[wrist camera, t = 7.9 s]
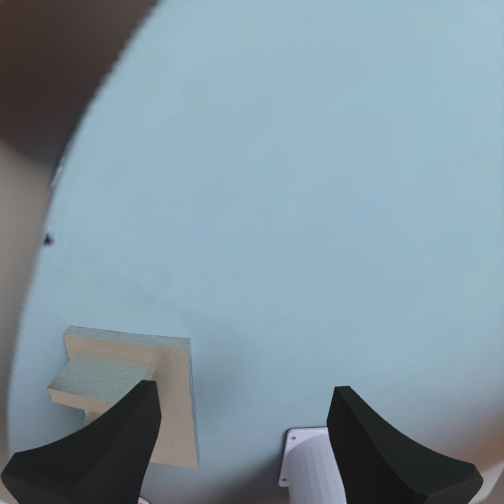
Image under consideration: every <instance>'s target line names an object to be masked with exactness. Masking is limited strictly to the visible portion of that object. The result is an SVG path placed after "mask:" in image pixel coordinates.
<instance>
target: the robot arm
mask: <svg viewBox="0 0 504 504" xmlns="http://www.w3.org/2000/svg"><path fill="white" fill-rule="evenodd" d="M161 419H162V414H161V408H160V402H159V396H158V390H157V383H156V381H150V380H141V381H140V382H139V383H138V384H137V385H136V386H134V387H133V388H132V389H131V390H130V391H129V392H128V393H127V394H126V395H125V396H124V397H123V398H122V399H120V400H119V401H118V402H117V403H116V404H115V405H114V406H112V407H111V408H110V409H109V410H108V411H106V412H105V413H104V414H102V415H101V416H100V417H99V418H97V419H96V420H94V421H93V422H92V423H90V424H89V425H87V426H85V427H84V428H82V429H80V430H79V431H77V432H75V433H73V434H71V435H69V436H67V437H65V438H62V439H60V440H58V441H56V442H53V443H50V444H48V445H45V446H42V447H38V448H35V449H31V450H27V451H22V452H17V453H15V454H14V455H13V456H12V458H11V459H10V461H9V462H8V464H7V465H6V467H5V468H4V470H3V472H2V473H1V479H2V482H3V484H4V485H5V487H6V488H7V489H8V491H9V492H10V493H11V494H12V495H13V497H14V498H15V499H16V500H17V502H18V503H19V504H138V501H139V496H140V491H141V486H142V482H143V478H144V475H145V472H146V469H147V467H148V464H149V461H150V458H151V455H152V452H153V450H154V447H155V444H156V441H157V438H158V434H159V429H160V424H161ZM326 422H327V427H322V428H304V429H291V430H289V431H288V433H287V439H286V445H285V451H284V456H283V462H282V467H281V472H280V477H279V486H281V487H289V496H290V504H468V503H469V502H470V500H471V499H472V498H473V497H474V496H475V495H476V494H477V492H478V491H479V490H480V488H481V486H482V484H483V478H482V476H481V475H480V473H479V471H478V470H477V468H476V467H475V465H474V464H472V463H468V462H464V461H460V460H457V459H453V458H450V457H447V456H445V455H442V454H439V453H437V452H435V451H432V450H430V449H428V448H426V447H424V446H422V445H420V444H419V443H417V442H415V441H413V440H412V439H410V438H409V437H407V436H405V435H404V434H402V433H401V432H400V431H398V430H397V429H395V428H394V427H393V426H392V425H390V424H389V423H388V422H387V421H385V420H384V419H383V418H382V417H381V416H379V415H378V414H377V413H376V412H375V411H374V410H373V409H372V408H371V407H370V406H369V405H368V404H367V403H366V402H365V401H364V400H363V399H362V398H361V397H360V396H359V395H358V394H357V393H356V392H355V391H354V390H353V389H352V388H351V387H350V386H339V387H335V388H334V393H333V397H332V401H331V405H330V409H329V413H328V417H327V421H326ZM291 437H293V438H291ZM0 504H8V503H7V502H5V501H3V500H2V499H0Z"/></svg>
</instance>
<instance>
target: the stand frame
mask: <svg viewBox="0 0 504 504" xmlns="http://www.w3.org/2000/svg"><path fill="white" fill-rule="evenodd" d="M63 336H64V341H65V345H66V349H67V353H68V357H69V362H68V363H67V364H66V365H65V367H64V368H63V369H62V370H61V371H60V373H59V374H58V375H57V376H56V378H55V379H54V380H53V381H52V383H51V384H50V385H49V386H48V391H49V394H50V396H51V399H52V402H55V403H59V404H63V405H67V406H70V407H74V408H78V409H82V410H84V411H85V414H86V417H87V420H88V422H89V424H90V423H92V422H93V421H94V420H96V419H97V418H99V417H100V416H101V415H102V414H104V413H105V412H106V411H108V410H109V409H110V408H111V407H112V406H114V405H115V404H116V403H117V402H118V401H119V400H120V399H122V398H123V397H124V396H125V395H126V394H127V393H128V392H129V391H130V390H131V389H132V388H133V387H134V386H136V385H137V384H138V383H139V382H140V381H141V380H150V381H156V383H157V390H158V396H159V402H160V408H161V414H162V419H161V424H160V429H159V434H158V438H157V441H156V444H155V447H154V450H153V452H152V455H151V458H150V461H149V462H151V463H158V464H165V465H172V466H180V467H189V468H198V464H199V458H200V457H199V448H198V438H197V428H196V417H195V406H194V394H193V380H192V365H191V349H190V339H188V338H175V337H163V336H151V335H141V334H132V333H123V332H114V331H106V330H98V329H91V328H84V327H77V326H71V327H70V328H69V329H68V330H67V331H66V332H65V333H64V334H63Z"/></svg>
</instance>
